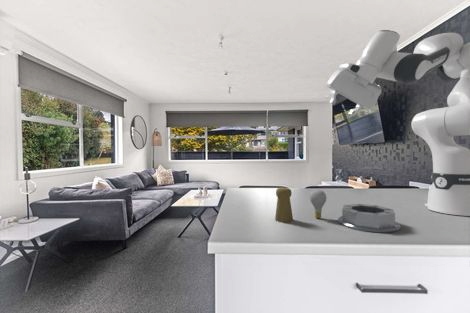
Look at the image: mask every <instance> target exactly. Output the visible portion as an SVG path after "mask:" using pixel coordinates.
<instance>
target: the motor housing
mask: <svg viewBox="0 0 470 313" xmlns="http://www.w3.org/2000/svg"><path fill="white" fill-rule="evenodd" d="M341 213H342V214H341V215H340V216H339V217H338V219H337V220H338V223H339V224H340V225H342V226H344V227H346V228H348V229H352V230H356V231H360V232H361V231H362V232H368V233H375V234H376V233H378V234H380V233H381V234H385V233H386V234H389V233H395V232H399V231H400V230H401V225H400V223H398V222H396V213H395V211H394V209H393V208H390V207H389V208H388V207H384V206H382V205H376V204H375V205H374V204H362V203H354V204H353V203H351V204H344V205H343V207H342V212H341Z"/></svg>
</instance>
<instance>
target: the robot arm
mask: <svg viewBox="0 0 470 313" xmlns="http://www.w3.org/2000/svg"><path fill="white" fill-rule="evenodd" d="M400 38H401V34H399V33H398V32H397V31H394V30H390V29H389V30H388V29H382V30H378V31H377V32H376V33H375V34H374V35H373V36H372V37H371V39H370V40H369V41H368V42H367V44H366V46H365V47H364V49H363V51H362V53H361V56H360V58H359V59H358V60H357V61H356V62H355V63H352V62H351V63H350V62H347V63H344V62H343V63H340V65H339V66H338V69H337V70H336V69H335V71H333V73H332V74H331V76H330V77H329V79H328V81H327V82H326V87H327V88H329V89H331V90H332V92H331V99H330V100H329V102H328V103H329V104H331V105H333V106H334V105H336V103H337V101H338V100H337V95H341V96H343V97H344V98H346V99H348V100H349V101H351V102H353V103H354V104H356V105H355V108H353V109H350V110H349V112H348V115H350V116H355V114H356V113H357V112H359V111H361V110H362V109H366V110H371V109H373V108H374V107H375V105H376V103H377V101H378V99H379V97H380V95H381V94H382V91H383V90H382V87H381V85H379V84H377V83H376V82H375V80H376V79H377V78H378V79H381V80H382V79H383V80H388V81H392V82H398V83H400V84H404V85H406V86H407V85H409V86H410V85H413V84H415V83H417V82H419V81H420V80H421V79H422V78H423V77H424V76H425V75H428V74H429V73H430V72H432V71H434V73H435V76H436V77H437V78H438V79H439V80H440V81H443V82H445V83H448V82H453V81H456V80H458V79H459V80H458V82H456V84H455V85H454V87H453V88H452V90H451V91H450V93H449V94H448V96H447V98H446V104H447V106H445V107H438V108H432V109H427V110H424V111H422V112H419V113H416V114H415V115H414V116H413V118H412V120H411V123H410V124H411V129H412V130H411V131H413V133H414V134H415V135H416V136H418V137H420V138H421V139H423V140H424V142H426V144H427V145H428V147H429V149H430V152H431V156H432V158H431V159H432V172H431V177H430V179H431V182H432V184H431V185H430V186H429V187H428V193H427V195H428V196H427V202H425V203H424V206H425V207H427V210H430V211H433V212H436V213H441V214H445V215H447V214H448V215H454V216H465V217H470V148H468V147H465V146H464V145H460V144H457V143H456V141H455V139H454V137H457V136H470V41H469V42H467V43H466V44H464V39H463V36H462V35H461V34H459V33H457V32H443V33H438V34H434V35H431V36H429V37H425V38H423V39H422V40H421V41H419V42H418V43H417V44H416V45H415V48H414V50H413V53H411V52H410V53H409V52H399V51H398V47H397V45H398V43H399V42H400Z"/></svg>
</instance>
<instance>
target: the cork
mask: <svg viewBox="0 0 470 313" xmlns="http://www.w3.org/2000/svg"><path fill="white" fill-rule="evenodd" d="M292 194H293V192H292V190H291V189H290V188H289V187H278V188H277V189H276V191H275V195H276V197H277V200H276V209H275V216H274V217H275V218H274V220H276V221H275V222H277V221H278V222H279V223H282V222H283V224H286V223H292V222H293V221H294V218H293V212H292V210H293V209H292V202H291V196H292Z"/></svg>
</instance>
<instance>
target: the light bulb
mask: <svg viewBox="0 0 470 313" xmlns="http://www.w3.org/2000/svg"><path fill="white" fill-rule="evenodd" d="M309 200H310V202H311V204H312V206H313V209H314V217H315V218H316V219H320V218H322V208H323V207H324V205H325V204H326V202H327V195H326V193H325V192H324V191H323V190H321V189H313V190H312V191H311V192H310V194H309Z"/></svg>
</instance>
